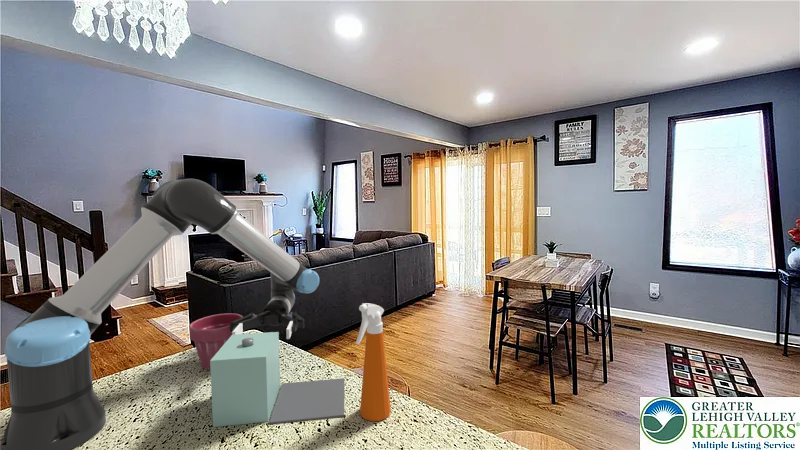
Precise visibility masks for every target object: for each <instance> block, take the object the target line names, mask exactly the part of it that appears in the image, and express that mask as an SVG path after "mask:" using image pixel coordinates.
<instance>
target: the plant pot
mask: <svg viewBox="0 0 800 450" xmlns="http://www.w3.org/2000/svg"><path fill="white" fill-rule="evenodd" d="M242 317H244V316H243V315H241V314H239V313H218V314H212V315H208V316H204V317H202V318H199V319H196V320H195V321H192V322H191V323H190V325H188V326H189V330H188V331H189V339H190V341H192V342H194V346H195V349H196V352H197V355H198V357H199V361H200V364H201V367H202V368H203V369H205V370H211V369H210V360H211V359H212V358H213V357H214V356H215V354H216V353H217V352H218V351H219V350H220V348H221V347H222V346H223V345H224V344H225V343H226V341H227V340H228V339H229V338H230V337H231V335H232V332H230V322H233V321H235V320H237V319H240V318H242Z"/></svg>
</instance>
